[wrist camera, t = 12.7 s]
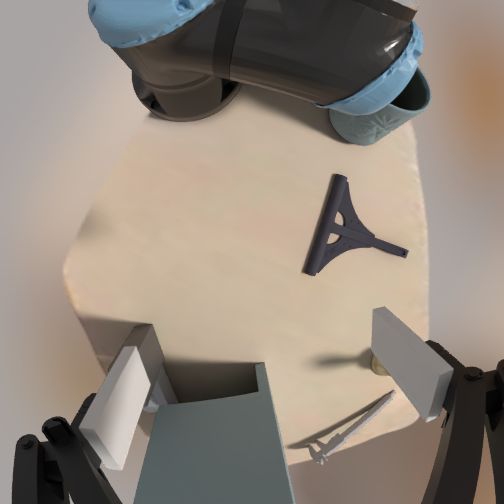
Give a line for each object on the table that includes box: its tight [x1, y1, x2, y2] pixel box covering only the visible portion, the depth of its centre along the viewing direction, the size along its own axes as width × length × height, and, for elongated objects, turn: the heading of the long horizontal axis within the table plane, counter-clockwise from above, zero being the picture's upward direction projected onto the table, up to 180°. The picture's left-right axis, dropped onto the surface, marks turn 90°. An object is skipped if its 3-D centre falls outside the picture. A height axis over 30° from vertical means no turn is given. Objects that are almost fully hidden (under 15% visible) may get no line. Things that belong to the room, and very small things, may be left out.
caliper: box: [308, 390, 396, 465], centre depth 46 cm, size 20×1×6 cm, turn 127°
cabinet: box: [133, 363, 295, 504], centre depth 33 cm, size 16×17×26 cm
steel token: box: [142, 392, 159, 413], centre depth 44 cm, size 5×5×1 cm
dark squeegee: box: [305, 174, 409, 276], centre depth 40 cm, size 14×15×3 cm
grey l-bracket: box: [108, 324, 179, 407], centre depth 38 cm, size 20×3×12 cm, turn 11°
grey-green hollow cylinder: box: [329, 66, 431, 146], centre depth 31 cm, size 10×10×12 cm
